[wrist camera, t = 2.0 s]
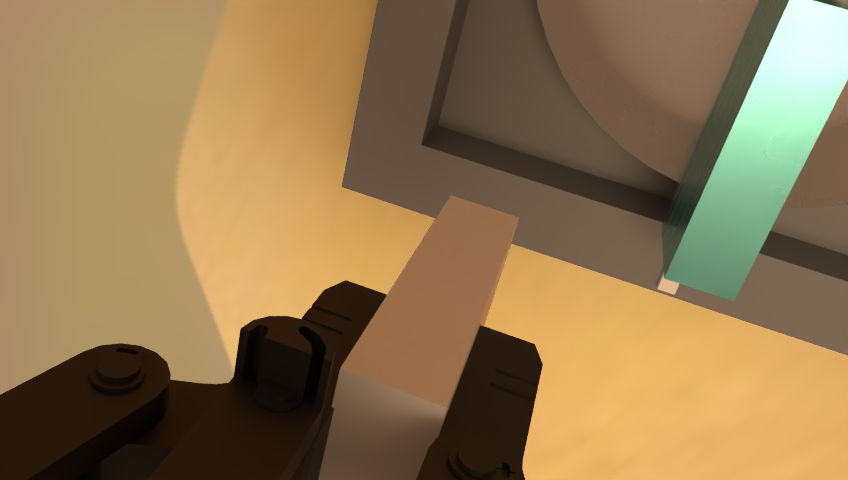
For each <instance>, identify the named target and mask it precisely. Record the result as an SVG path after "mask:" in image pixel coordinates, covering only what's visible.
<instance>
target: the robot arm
mask: <svg viewBox="0 0 848 480" xmlns="http://www.w3.org/2000/svg"><path fill="white" fill-rule="evenodd" d="M518 220H519V217H516V216H513V215H510V214H507V213H504V212H501V211H498V210H495V209H492V208H489V207H486V206H483V205H479V204H476V203H473V202H470V201H467V200H464V199H461V198H458V197H455V196H452V195H451V196H450V197H449V199H448V201H447V202H446V204H445V205H444V207H443V208H442V210H441V211H440V213H439V215H438V216H437V218H436V219H435V221H434V222H433V224H432V226H431V227H430V229H429V230H428V232H427V233H426V235H425V237H424V238H423V240H422V241H421V243H420V244H419V246H418V247H417V249H416V251H415V252H414V254H413V255H412V257H411V258H410V260H409V262H408V263H407V265H406V266H405V268H404V269H403V271H402V273H401V274H400V276H399V277H398V279H397V280H396V282H395V283H394V285H393V287H392V288H391V290H390V291H389V293H388V294H387V295H386V294H383V293H381V292H378V291H375V290H372V289H369V288H366V287H363V286H360V285H358V284H355V283H352V282H349V281H343V282H341V283H339V284H337V285H334V286H332V287H330V288H328V289H325V290H324V291H323V292H322V294H321V295H320V296H319V297H318V299H317V300H316V301H315V302H314V304H313V305H312V307H311V308H309V310H308V311H307V312H306V313H305V315H304V316H303V317H302V319H298V318H293V317H289V316H268V317H264V318H260V319H257V320H253V321H251V322H250V323H248V324H247V325H245V326H244V327H242V328H241V330H240V337H239V344H238V351H237V358H236V365H235V372H234V377H233V378H232V380H231V381H230V382H229V383H224V384H201V383H192V382H184V381H176V380H170V376H171V375H170V371H169V368H168V364H167V362H166V361H165V360H164V359H163V358H162V357H161V356H159V355H158V354H157V353H156V352H154V351H151V350H149V349H146V348H144V347H142V346H137V345H129V344H111V345H102V346H98V347H95V348H93V349H90V350H87V351H84V352H82V353H80V354H78V355H76V356H74V357H72V358H70V359H69V360H66V361H65V362H63V363H61V364H59V365H57V366H55V367H53V368H51V369H49V370H47V371H45V372H44V373H42V374H40V375H38V376H36V377H34V378H32V379H30V380H28V381H26V382H24V383H22V384H20V385H18V386H17V387H15V388H13V389H11V390H9V391H7V392H5V393H3V394H1V395H0V480H525V478H524V474H523V470H522V463H523V455H524V451H525V446H526V441H527V436H528V432H529V427H530V422H531V417H532V413H533V408H534V401H535V398H536V394H537V389H538V384H539V379H540V375H541V370H542V365H543V364H542V362H541V359H540V357H539V354H538V351H537V349H536V346H535V344H533V343H530V342H527V341H524V340H521V339H519V338H516V337H513V336H510V335H507V334H504V333H501V332H498V331H496V330H493V329H490V328H487V327H484V324H485V321H486V318H487V315H488V312H489V309H490V306H491V303H492V300H493V297H494V294H495V291H496V288H497V285H498V282H499V278H500V275H501V272H502V269H503V266H504V263H505V260H506V257H507V254H508V251H509V248H510V245H511V242H512V239H513V236H514V233H515V230H516V226H517V223H518Z"/></svg>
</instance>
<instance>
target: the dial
mask: <svg viewBox="0 0 848 480" xmlns="http://www.w3.org/2000/svg"><path fill="white" fill-rule="evenodd" d="M537 5H538V10H539V13H540V17H541V20H542V24H543V27H544V31H545V34H546V37H547V41H548V43H549V46H550V48H551V50H552V52H553V55H554V57H555V59H556V61H557V64H558V66H559V68H560V71H561V73H562V74H563V76H564V78H565V79H566V81H567V83H568V84H569V86H570V87H571V89H572V91H573V92H574V94H575V96H576V97H577V99H578V100H579V102H580V103H581V104H582V105H583V107H584V108H585V109H586V110H587V112H588V113H589V114H590V115H591V116H592V118H593V119H594V120H595V121H596V123H597V124H598V125H599V126H600V127H601V128H602V129H603V130H604V131H605V132H606V133H607V134H608V135H609V136H610V137H612V138H613V139H614V140H615V141H616V142H617V143H618V144H619V145H620V146H621V147H622V148H623V149H625V150H626V151H628V152H629V153H630V154H632V155H633V156H635V157H636V158H637V159H639V160H640V161H642V162H643V163H644V164H646V165H647V166H649V167H650V168H652V169H654V170H656V171H658V172H660V173H661V174H663V175H665V176H667V177H669V178H671V179H673V180H675V181H676V182H678V183H680V184H679V187H678V189H677V191H676V194H675V196H674V198H673V201H672V203H671V205H670V208H669V210H668V212H667V214H666V217H665V219H664V221H663V224H662V243H663V265H664V279H667V280H671V281H674V282H677V283H680V284H683V285H686V286H689V287H692V288H695V289H698V290H701V291H704V292H707V293H710V294H713V295H716V296H719V297H722V298H725V299H728V300H731V301H734V300H735V298H736V297H737V295H738V293H739V291H740V289H741V287H742V285H743V283H744V281H745V279H746V277H747V275H748V273H749V271H750V269H751V267H752V265H753V263H754V261H755V259H756V257H757V255H758V254H759V252H760V250H761V248H762V246H763V244H764V242H765V240H766V238H767V236H768V234H769V232H770V230H771V228H772V226H773V224H774V222H775V220H776V218H777V216H778V214H779V212H780V211H781V209H782V208H822V207H832V206H842V205H848V0H537Z"/></svg>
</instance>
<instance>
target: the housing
mask: <svg viewBox="0 0 848 480" xmlns="http://www.w3.org/2000/svg"><path fill="white" fill-rule="evenodd" d="M679 184H680V183H678V182H676V181H675V180H673V179H671V178H669V177H667V176H665V175H663V174H661V173H660V172H658V171H656V170H654V169H652V168H650V167H649V166H647V165H646V164H644V163H643V162H642V161H640V160H639V159H637V158H636V157H635V156H633V155H632V154H630V153H629V152H628V151H626V150H625V149H623V148H622V147H621V146H620V145H619V144H618V143H617V142H616V141H615V140H614V139H613V138H612V137H610V136H609V135H608V134H607V133H606V132H605V131H604V130H603V129H602V128H601V127H600V126H599V125H598V124H597V123H596V121H595V120H594V119H593V118H592V116H591V115H590V114H589V113H588V112H587V110H586V109H585V108H584V107H583V105H582V104H581V103H580V102H579V100H578V99H577V97H576V96H575V94H574V92H573V91H572V89H571V87H570V86H569V84H568V83H567V81H566V79H565V78H564V76H563V74H562V73H561V71H560V68H559V66H558V64H557V61H556V59H555V57H554V55H553V52H552V50H551V48H550V46H549V43H548V41H547V37H546V34H545V31H544V27H543V24H542V20H541V17H540V13H539V10H538V5H537V0H378V3H377V8H376V14H375V19H374V24H373V29H372V34H371V39H370V44H369V50H368V55H367V60H366V65H365V70H364V75H363V80H362V86H361V91H360V96H359V101H358V106H357V111H356V116H355V121H354V127H353V132H352V137H351V142H350V147H349V152H348V157H347V163H346V168H345V173H344V178H343V183H342V187H344V188H347V189H350V190H353V191H356V192H359V193H362V194H365V195H368V196H371V197H374V198H377V199H380V200H383V201H386V202H389V203H392V204H395V205H398V206H401V207H404V208H407V209H410V210H413V211H416V212H419V213H422V214H425V215H428V216H431V217H434V218H437V216H438V215H439V213H440V211H441V210H442V208H443V207H444V205H445V204H446V202H447V201H448V199H449V197H450V196H451V195H452V196H455V197H458V198H461V199H464V200H467V201H470V202H473V203H476V204H479V205H483V206H486V207H489V208H492V209H495V210H498V211H501V212H504V213H507V214H510V215H513V216H516V217H519V220H518V223H517V226H516V230H515V233H514V236H513V239H512V242H511V243H512V244H515V245H518V246H521V247H524V248H527V249H530V250H533V251H536V252H539V253H542V254H545V255H548V256H551V257H554V258H557V259H560V260H563V261H566V262H569V263H572V264H575V265H578V266H581V267H584V268H587V269H590V270H593V271H596V272H599V273H602V274H605V275H608V276H611V277H614V278H617V279H620V280H623V281H626V282H629V283H632V284H635V285H638V286H641V287H644V288H647V289H650V290H653V291H656V292H659V293H662V294H665V295H668V296H671V297H674V298H677V299H680V300H683V301H686V302H689V303H692V304H695V305H698V306H701V307H704V308H707V309H710V310H713V311H716V312H719V313H722V314H725V315H728V316H731V317H734V318H737V319H740V320H743V321H746V322H749V323H752V324H755V325H758V326H761V327H764V328H767V329H770V330H773V331H776V332H779V333H782V334H785V335H788V336H791V337H794V338H797V339H800V340H803V341H806V342H809V343H812V344H815V345H818V346H821V347H824V348H827V349H830V350H834V351H837V352H840V353H843V354H846V355H848V205H842V206H832V207H822V208H782V209H781V211H780V212H779V214H778V216H777V218H776V220H775V222H774V224H773V226H772V228H771V230H770V232H769V234H768V236H767V238H766V240H765V242H764V244H763V246H762V248H761V250H760V252H759V254H758V255H757V257H756V259H755V261H754V263H753V265H752V267H751V269H750V271H749V273H748V275H747V277H746V279H745V281H744V283H743V285H742V287H741V289H740V291H739V293H738V295H737V297H736V298H735V300H734V301H731V300H728V299H725V298H722V297H719V296H716V295H713V294H710V293H707V292H704V291H701V290H698V289H695V288H692V287H689V286H686V285H683V284H680V283H677V282H674V281H671V280H667V279H664V265H663V243H662V224H663V221H664V219H665V217H666V214H667V212H668V210H669V208H670V205H671V203H672V201H673V198H674V196H675V194H676V191H677V189H678V187H679Z"/></svg>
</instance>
